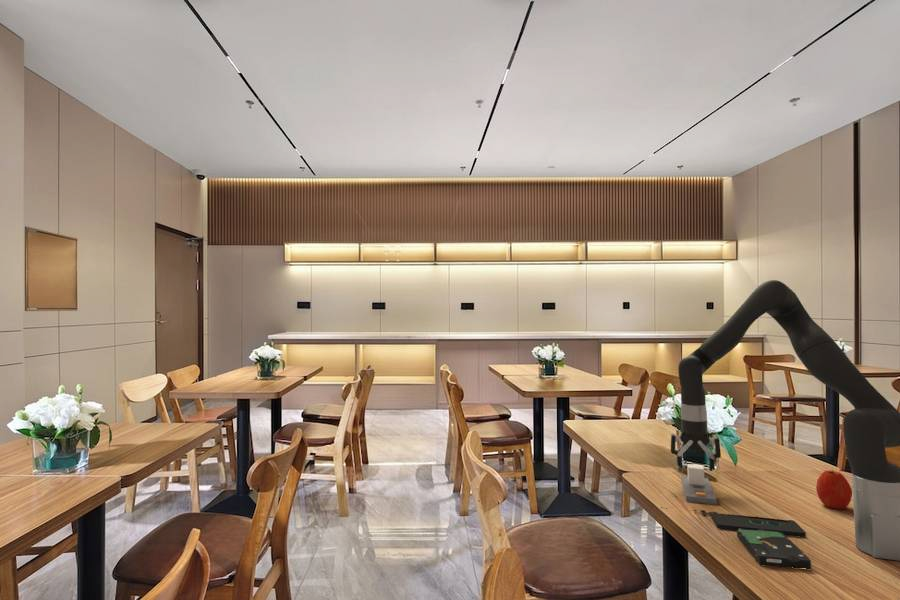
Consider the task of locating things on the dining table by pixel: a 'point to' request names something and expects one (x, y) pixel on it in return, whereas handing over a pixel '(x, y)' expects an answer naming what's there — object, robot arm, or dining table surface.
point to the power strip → (698, 492)
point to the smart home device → (757, 524)
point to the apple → (834, 490)
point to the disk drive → (773, 549)
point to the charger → (695, 474)
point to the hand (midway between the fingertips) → (695, 468)
